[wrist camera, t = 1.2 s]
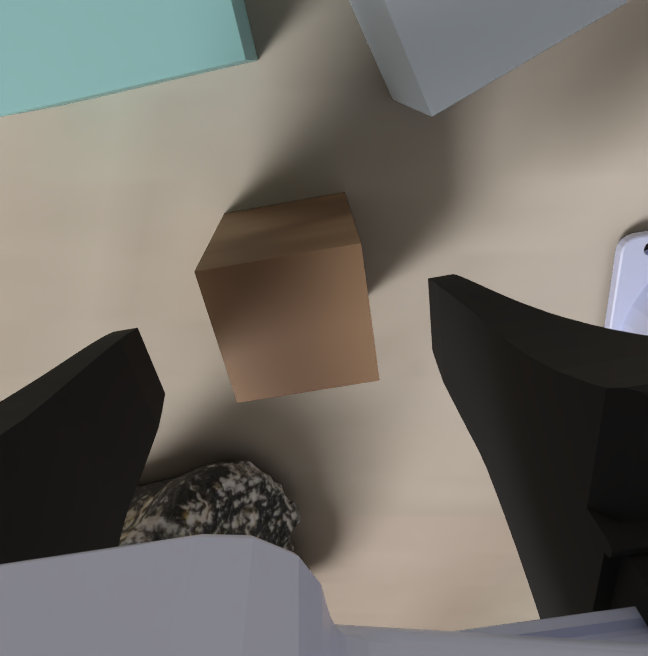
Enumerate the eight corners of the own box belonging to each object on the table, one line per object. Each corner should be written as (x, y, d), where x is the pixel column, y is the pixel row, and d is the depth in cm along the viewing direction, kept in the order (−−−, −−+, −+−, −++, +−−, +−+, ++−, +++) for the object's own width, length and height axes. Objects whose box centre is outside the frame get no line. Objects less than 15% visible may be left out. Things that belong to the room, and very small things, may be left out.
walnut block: (344, 191, 15) (360, 242, 11) (359, 300, 17) (379, 380, 13) (224, 213, 16) (194, 271, 11) (253, 318, 18) (237, 402, 13)
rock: (46, 408, 21) (-91, 673, 17) (207, 430, 16) (71, 813, 12) (225, 480, 31) (167, 658, 27) (358, 507, 26) (313, 731, 22)
